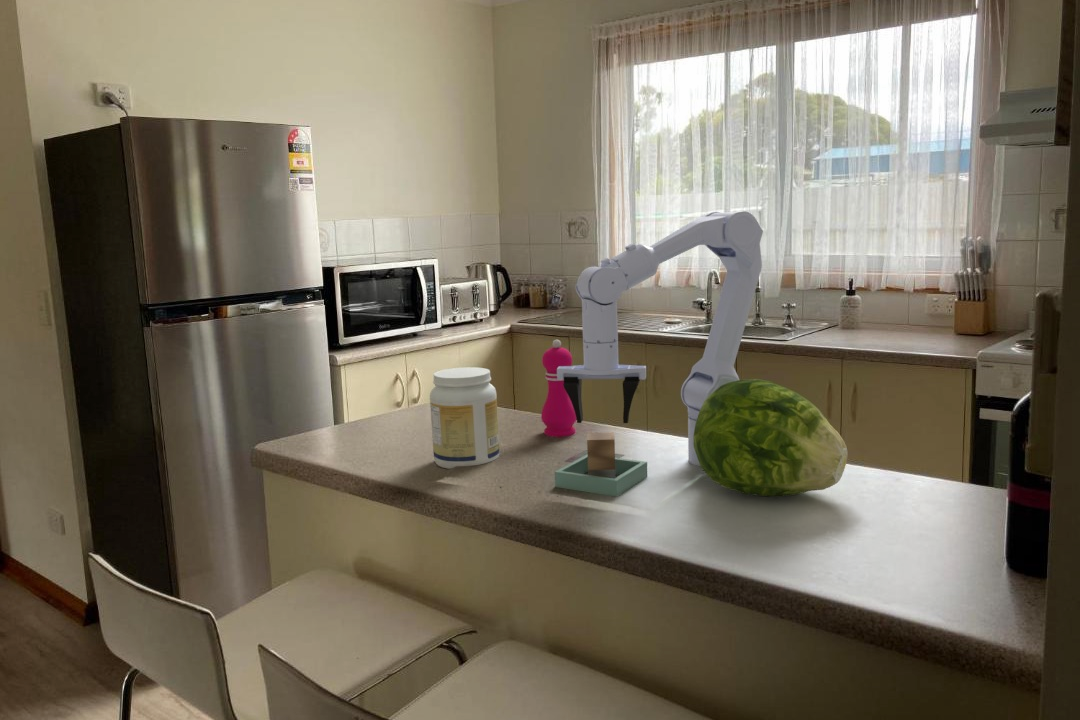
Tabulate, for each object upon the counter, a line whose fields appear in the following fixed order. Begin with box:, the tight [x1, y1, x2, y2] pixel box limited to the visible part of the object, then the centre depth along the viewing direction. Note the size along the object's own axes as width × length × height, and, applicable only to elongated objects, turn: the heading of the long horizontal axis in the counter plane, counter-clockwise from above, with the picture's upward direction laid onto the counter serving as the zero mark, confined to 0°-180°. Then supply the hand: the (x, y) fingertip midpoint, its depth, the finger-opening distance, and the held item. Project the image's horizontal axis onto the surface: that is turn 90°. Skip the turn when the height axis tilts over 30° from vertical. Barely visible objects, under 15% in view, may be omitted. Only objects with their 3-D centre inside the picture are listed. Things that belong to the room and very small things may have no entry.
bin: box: [554, 454, 648, 497], centre depth 141 cm, size 11×11×4 cm
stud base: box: [565, 449, 625, 463], centre depth 154 cm, size 8×8×3 cm
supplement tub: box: [429, 366, 500, 470], centre depth 157 cm, size 12×12×17 cm
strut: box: [586, 432, 616, 479], centre depth 140 cm, size 4×4×8 cm
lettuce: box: [693, 378, 849, 498], centre depth 133 cm, size 19×23×18 cm
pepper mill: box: [540, 339, 577, 438], centre depth 172 cm, size 7×7×20 cm
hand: (602, 421), depth 142 cm, fingers open, 7 cm apart
